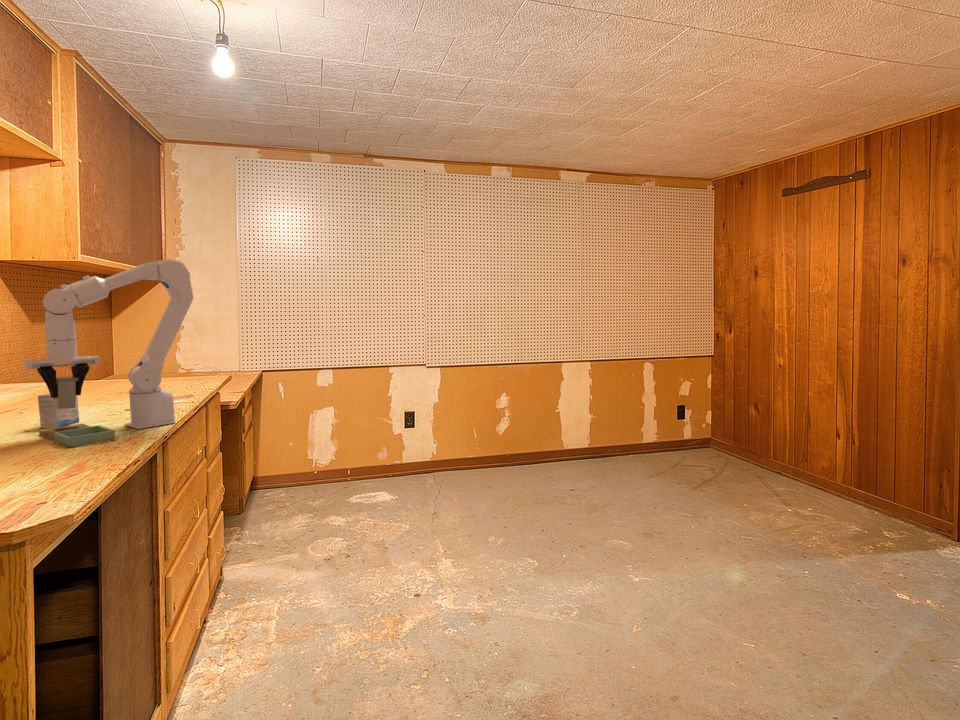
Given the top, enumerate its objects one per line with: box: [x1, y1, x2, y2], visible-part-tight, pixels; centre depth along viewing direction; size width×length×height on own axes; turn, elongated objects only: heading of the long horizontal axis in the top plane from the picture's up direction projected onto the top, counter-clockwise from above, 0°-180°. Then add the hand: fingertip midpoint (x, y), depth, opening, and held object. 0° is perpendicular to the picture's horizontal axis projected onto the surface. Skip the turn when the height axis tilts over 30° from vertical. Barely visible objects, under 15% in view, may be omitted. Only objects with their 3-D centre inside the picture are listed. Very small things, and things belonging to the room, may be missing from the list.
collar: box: [38, 423, 91, 441], centre depth 135 cm, size 9×9×1 cm
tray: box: [53, 424, 116, 448], centre depth 128 cm, size 9×9×2 cm
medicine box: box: [37, 393, 80, 429], centre depth 144 cm, size 8×4×9 cm, turn 179°
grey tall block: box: [53, 375, 78, 409], centre depth 133 cm, size 4×4×7 cm
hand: (66, 396), depth 134 cm, fingers closed on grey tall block, 4 cm apart
